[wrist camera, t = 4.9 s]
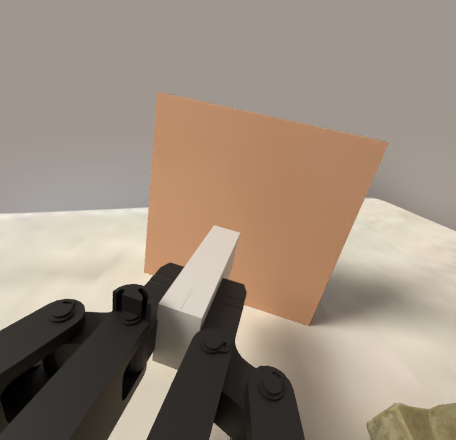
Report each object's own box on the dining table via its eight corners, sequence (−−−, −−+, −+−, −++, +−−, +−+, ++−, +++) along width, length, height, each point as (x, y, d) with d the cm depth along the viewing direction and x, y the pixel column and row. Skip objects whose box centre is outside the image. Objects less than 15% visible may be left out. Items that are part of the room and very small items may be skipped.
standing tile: (307, 303, 23) (375, 138, 17) (308, 326, 20) (388, 142, 14) (159, 256, 25) (175, 94, 19) (143, 272, 22) (157, 92, 16)
